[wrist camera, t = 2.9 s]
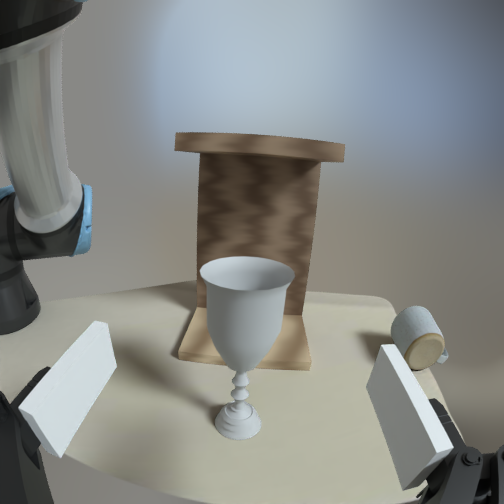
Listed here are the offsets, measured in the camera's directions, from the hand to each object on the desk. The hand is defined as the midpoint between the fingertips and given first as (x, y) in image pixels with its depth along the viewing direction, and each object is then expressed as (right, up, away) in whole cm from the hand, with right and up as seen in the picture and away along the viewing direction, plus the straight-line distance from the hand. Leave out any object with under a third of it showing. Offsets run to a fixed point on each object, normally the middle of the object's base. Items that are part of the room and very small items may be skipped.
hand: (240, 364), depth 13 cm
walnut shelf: (0, -8, +31) cm, 32 cm away
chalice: (-1, -14, +15) cm, 20 cm away
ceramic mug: (+27, -12, +27) cm, 40 cm away
